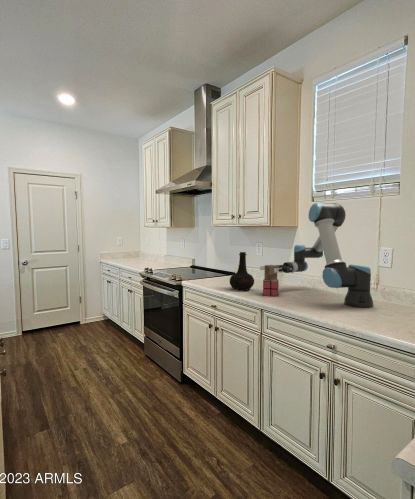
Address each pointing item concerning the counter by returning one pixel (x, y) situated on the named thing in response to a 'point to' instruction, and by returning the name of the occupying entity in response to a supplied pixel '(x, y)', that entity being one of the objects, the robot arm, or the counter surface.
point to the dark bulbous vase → (242, 276)
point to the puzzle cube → (270, 288)
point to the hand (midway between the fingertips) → (267, 269)
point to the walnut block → (270, 273)
